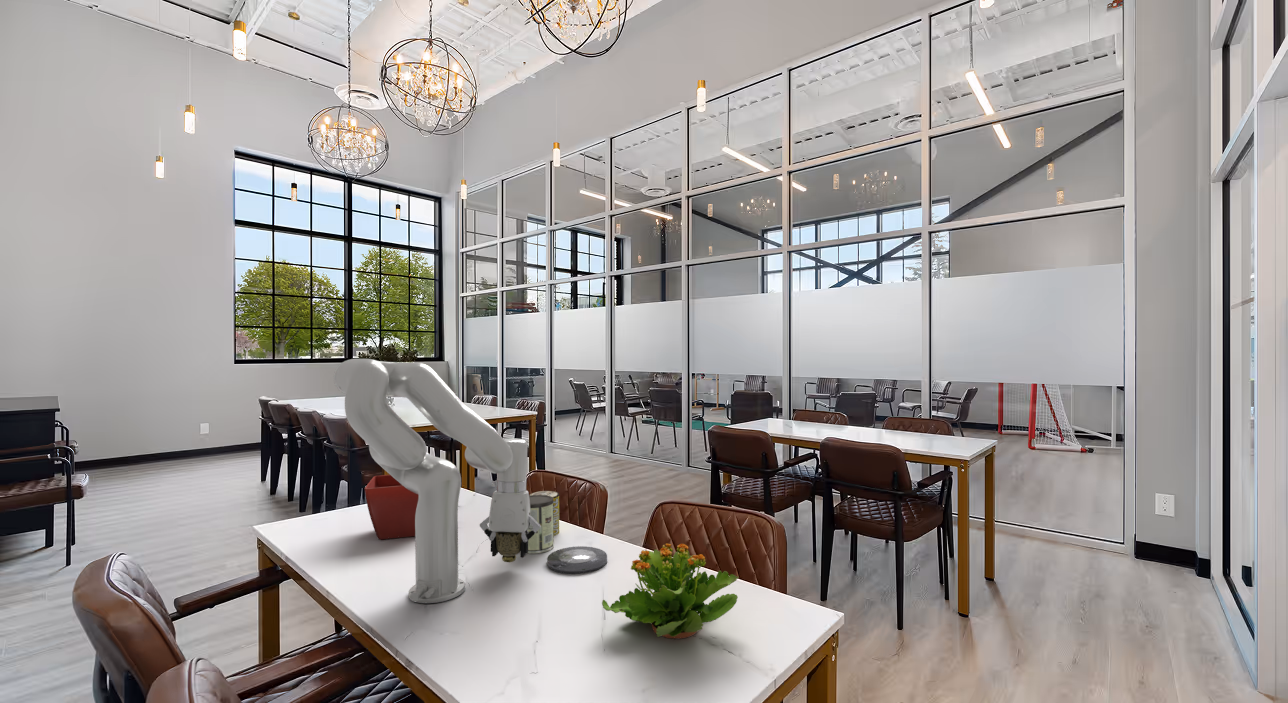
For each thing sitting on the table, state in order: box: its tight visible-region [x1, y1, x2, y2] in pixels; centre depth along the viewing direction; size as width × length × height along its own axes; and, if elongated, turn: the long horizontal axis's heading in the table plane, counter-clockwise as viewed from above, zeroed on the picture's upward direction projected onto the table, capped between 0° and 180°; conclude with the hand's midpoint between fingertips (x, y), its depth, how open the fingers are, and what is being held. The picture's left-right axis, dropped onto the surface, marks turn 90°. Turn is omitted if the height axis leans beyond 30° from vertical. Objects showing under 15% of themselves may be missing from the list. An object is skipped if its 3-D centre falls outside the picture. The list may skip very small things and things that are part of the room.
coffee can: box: [519, 495, 555, 555], centre depth 163 cm, size 10×10×14 cm
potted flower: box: [601, 543, 739, 640], centre depth 115 cm, size 25×24×18 cm
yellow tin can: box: [529, 490, 560, 537], centre depth 177 cm, size 9×9×12 cm
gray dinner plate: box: [546, 545, 608, 575], centre depth 152 cm, size 16×16×2 cm
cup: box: [496, 532, 522, 563], centre depth 147 cm, size 8×7×8 cm
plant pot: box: [364, 474, 419, 540], centre depth 179 cm, size 19×19×17 cm
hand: (509, 554), depth 147 cm, fingers closed on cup, 6 cm apart
